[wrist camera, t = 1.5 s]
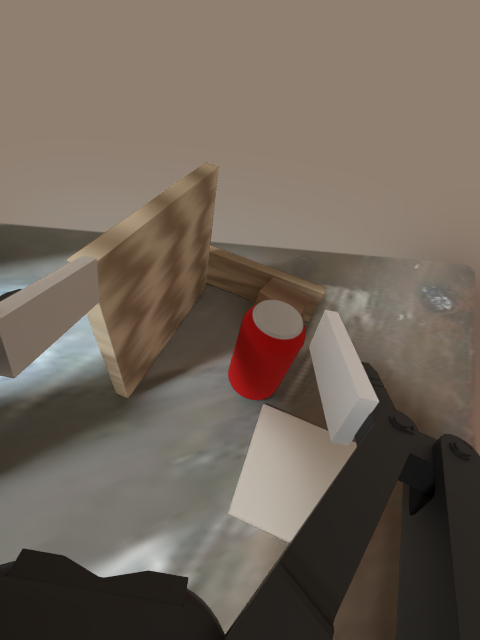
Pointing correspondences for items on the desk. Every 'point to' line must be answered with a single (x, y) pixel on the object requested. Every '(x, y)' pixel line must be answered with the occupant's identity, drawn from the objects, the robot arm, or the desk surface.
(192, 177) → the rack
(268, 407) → the felt pad
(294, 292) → the offcut upper
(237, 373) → the beverage can
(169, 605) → the robot arm
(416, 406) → the desk surface
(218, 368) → the desk surface
